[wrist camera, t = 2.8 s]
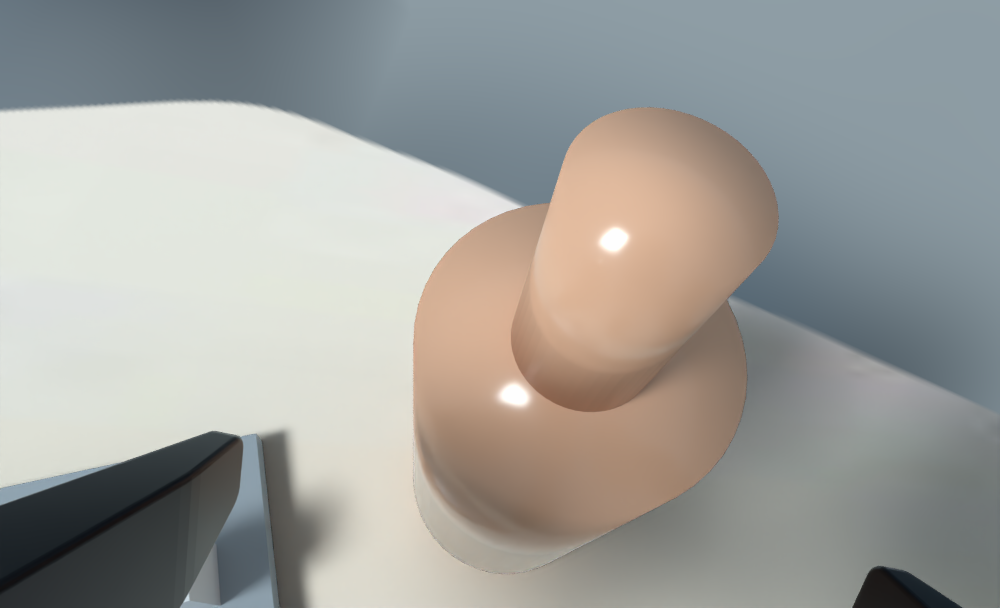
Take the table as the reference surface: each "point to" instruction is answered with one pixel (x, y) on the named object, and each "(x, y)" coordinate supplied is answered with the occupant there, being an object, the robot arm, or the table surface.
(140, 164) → the table surface
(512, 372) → the tan bottle
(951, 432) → the table surface
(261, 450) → the plate
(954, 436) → the table surface
